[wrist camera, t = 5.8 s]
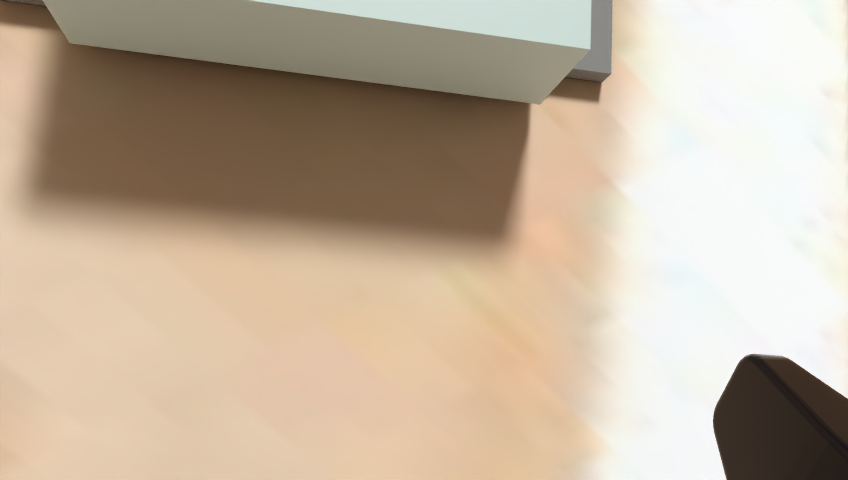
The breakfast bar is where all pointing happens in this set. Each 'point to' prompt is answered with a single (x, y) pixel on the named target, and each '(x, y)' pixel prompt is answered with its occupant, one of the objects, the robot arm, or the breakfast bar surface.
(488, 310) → the breakfast bar surface
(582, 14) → the grey-green slab
